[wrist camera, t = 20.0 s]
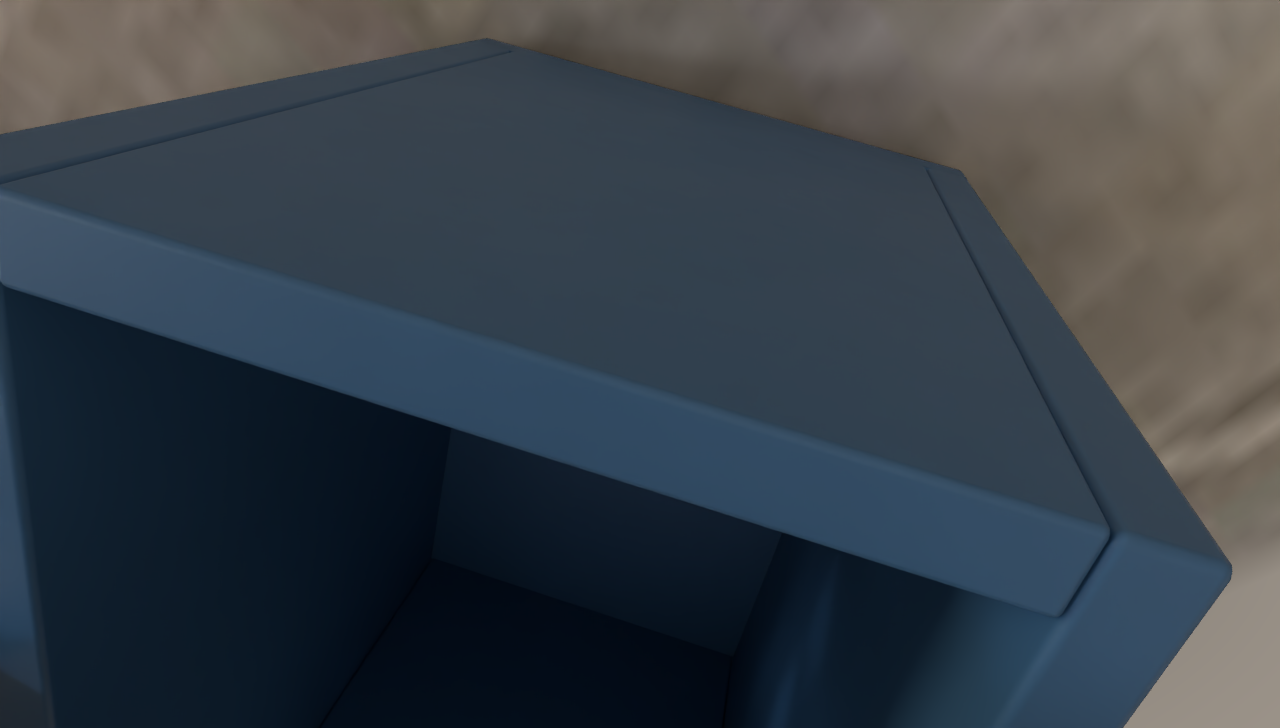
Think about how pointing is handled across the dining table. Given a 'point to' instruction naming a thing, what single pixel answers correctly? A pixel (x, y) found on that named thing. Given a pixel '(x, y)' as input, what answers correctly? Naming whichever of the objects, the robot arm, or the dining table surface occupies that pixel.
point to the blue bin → (550, 424)
